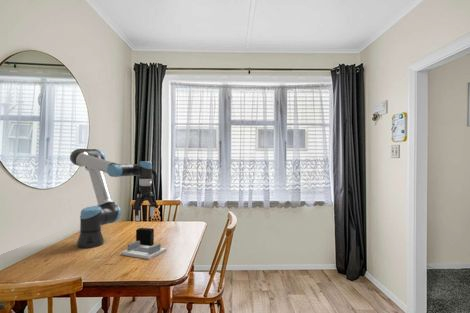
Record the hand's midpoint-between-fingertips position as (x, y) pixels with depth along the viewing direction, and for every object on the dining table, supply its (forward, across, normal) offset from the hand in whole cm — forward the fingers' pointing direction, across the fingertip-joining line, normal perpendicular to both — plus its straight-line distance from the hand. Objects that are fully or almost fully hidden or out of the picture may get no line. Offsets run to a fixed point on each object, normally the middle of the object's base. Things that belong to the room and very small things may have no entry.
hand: (145, 218), depth 175 cm
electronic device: (+17, 0, 0) cm, 17 cm away
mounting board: (+16, -12, -10) cm, 23 cm away
